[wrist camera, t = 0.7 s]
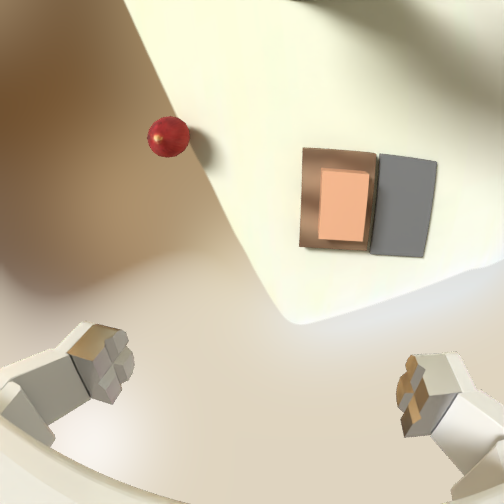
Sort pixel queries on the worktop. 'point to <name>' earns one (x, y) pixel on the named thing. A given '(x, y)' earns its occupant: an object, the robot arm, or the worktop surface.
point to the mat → (402, 205)
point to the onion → (168, 136)
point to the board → (311, 193)
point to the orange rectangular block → (342, 204)
